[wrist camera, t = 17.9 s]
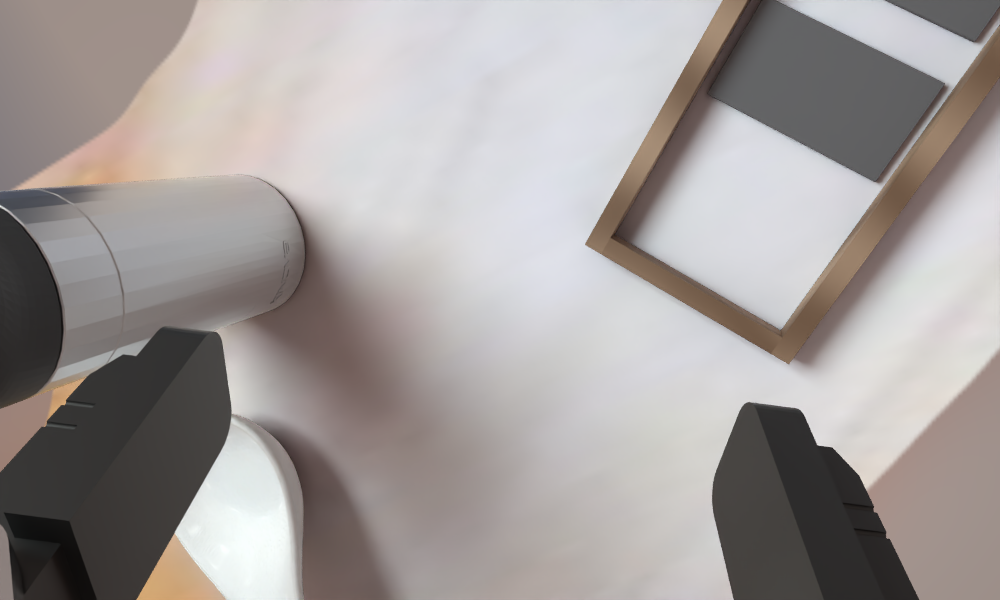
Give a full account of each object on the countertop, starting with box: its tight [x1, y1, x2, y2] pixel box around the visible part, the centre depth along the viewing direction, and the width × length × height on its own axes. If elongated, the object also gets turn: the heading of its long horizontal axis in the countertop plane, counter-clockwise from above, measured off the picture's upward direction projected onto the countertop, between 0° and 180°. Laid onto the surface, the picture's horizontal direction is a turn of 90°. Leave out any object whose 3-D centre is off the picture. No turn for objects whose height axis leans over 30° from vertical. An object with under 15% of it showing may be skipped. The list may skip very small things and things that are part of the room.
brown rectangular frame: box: [585, 0, 1000, 364], centre depth 31 cm, size 30×12×1 cm, turn 152°
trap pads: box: [707, 0, 1000, 182], centre depth 32 cm, size 12×9×1 cm
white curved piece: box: [175, 414, 304, 600], centre depth 47 cm, size 24×12×7 cm, turn 46°
